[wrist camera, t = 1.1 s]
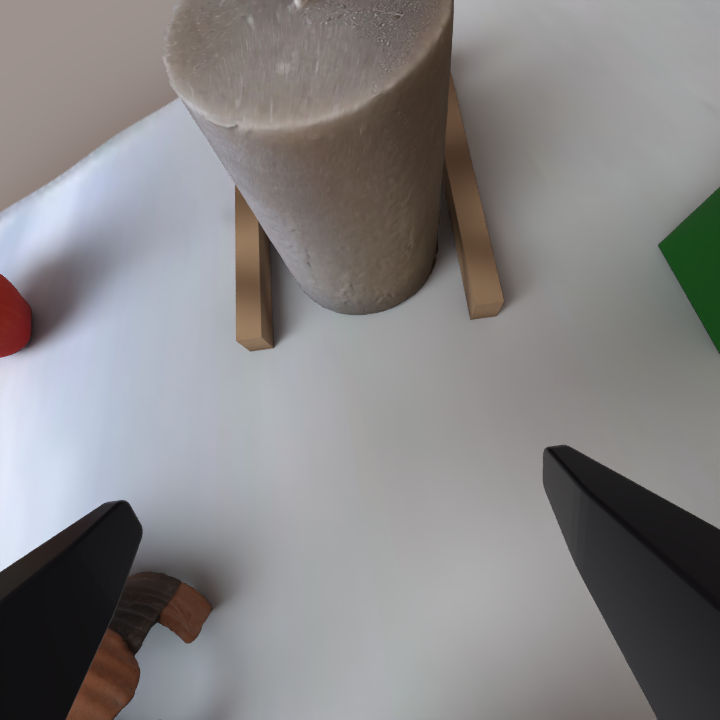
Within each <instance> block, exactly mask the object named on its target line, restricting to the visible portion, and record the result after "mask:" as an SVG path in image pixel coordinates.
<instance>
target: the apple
mask: <svg viewBox="0 0 720 720" xmlns="http://www.w3.org/2000/svg"><path fill="white" fill-rule="evenodd" d="M31 316H32V312H31V308H30V306H29V304H28V303H27V302H26V301H25V299H24V298H23V297H22V296H21V294H20V293H19V292H18V291H17V289H16V288H15V287H14V286H13V285H12V284H11V283H10V282H9V281H8V280H7V279H6V278H5V277H4V276H3V275H1V274H0V358H1V357H5V356H9V355H12V354H14V353H16V352H18V351H20V350H21V349H22V348H23V347H25V346H26V344H27V343H28V342H29V340H30V338H31Z"/></svg>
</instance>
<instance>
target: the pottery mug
mask: <svg viewBox="0 0 720 720" xmlns="http://www.w3.org/2000/svg"><path fill="white" fill-rule="evenodd" d="M211 610H212V608H211V605H210V604H209V603H208V602H207V600H206V599H205V598H204V596H202V595H201V594H200V593H198V592H197V591H196V590H195V589H194V588H192V587H190V586H188V585H187V584H185V583H182V582H181V581H180V580H178V579H176V578H173V577H170V576H168V575H166V574H164V573H154V572H141V573H138V574H135V575H132V576H130V577H128V578H127V581H126V584H125V586H124V589H123V592H122V595H121V597H120V600H119V603H118V605H117V608H116V610H115V613H114V615H113V617H112V620H111V622H110V624H109V626H108V629H107V631H106V633H105V635H104V637H103V640H102V642H101V644H100V646H99V648H98V651H97V653H96V655H95V657H94V659H93V661H92V664H91V666H90V668H89V670H88V672H87V675H86V677H85V679H84V681H83V683H82V686H81V688H80V690H79V692H78V694H77V697H76V699H75V701H74V703H73V705H72V708H71V710H70V712H69V714H68V716H67V719H66V720H113V719H114V718H115V717H116V715H117V714H118V713H119V712H120V711H121V710H122V709H123V708H124V707H125V706H126V705H127V704H128V703H129V702H130V701H131V699H132V698H133V697H134V694H135V690H136V688H137V685H138V682H139V678H140V668H139V666H138V662H137V660H136V659H135V654H136V653H137V652H138V650H139V649H140V648H141V646H142V643H143V641H144V639H145V637H146V636H147V634H148V632H149V631H150V629H151V627H153V626H154V624H156V623H157V622H158V623H160V624H162V625H163V626H166V627H168V628H169V629H170V630H171V631H173V632H174V633H175V634H176V635H178V636H179V637H180V638H181V639H182V640H183V641H184V642H185V643H191V642H193V641H194V640H195V639H196V638H197V636H198V635H199V633H200V631H201V629H202V625H203V623H204V622H205V621H206V619H207V617H208V616H209V614H210V612H211Z"/></svg>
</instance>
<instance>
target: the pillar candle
mask: <svg viewBox="0 0 720 720" xmlns="http://www.w3.org/2000/svg"><path fill="white" fill-rule="evenodd" d="M173 10H174V13H173V15H172V19H171V21H170V24H169V25H168V27H167V30H166V31H165V32H164V35H163V37H162V38H163V39H164V40H165V46H164V49H163V51H162V59H163V61H164V63H165V66H166V71H167V73H168V76H169V78H170V81H169V84H170V85H171V87H172V88H173V89H174V90H175V92H176V93H177V94H178V96H179V98H180V99H181V100H182V102H183V103H184V105H185V106H186V108H187V109H188V111H189V112H190V114H191V116H192V117H193V119H194V120H195V122H196V123H197V125H198V126H199V128H200V129H201V131H202V132H203V134H204V135H205V137H206V138H207V140H208V141H209V143H210V145H211V146H212V148H213V150H214V151H215V153H216V154H217V156H218V157H219V159H220V161H221V162H222V164H223V165H224V167H225V169H226V170H227V172H228V173H229V175H230V176H231V178H232V180H233V181H234V183H235V185H236V186H237V188H238V189H239V191H240V192H241V194H242V196H243V197H244V199H245V200H246V202H247V204H248V205H249V207H250V208H251V210H252V211H253V213H254V214H255V216H256V218H257V220H258V221H259V223H260V224H261V226H262V227H263V229H264V231H265V233H266V234H267V236H268V237H269V239H270V241H271V242H272V244H273V245H274V246H275V248H276V249H277V251H278V253H279V254H280V256H281V257H282V259H283V261H284V262H285V264H286V265H287V267H288V269H289V270H290V272H291V273H292V275H293V276H294V278H295V279H296V281H297V283H298V284H299V286H300V287H301V288H302V290H303V291H304V292H305V293H306V294H307V295H308V296H309V297H310V298H311V299H313V300H314V301H315V302H317V303H318V304H319V305H321V306H322V307H324V308H327V309H330V310H333V311H334V312H337V313H341V314H348V315H366V314H372V313H378V312H381V311H385V310H387V309H389V308H392V307H394V306H396V305H398V304H400V303H401V302H403V301H404V300H406V299H408V298H409V297H410V296H412V295H413V294H415V293H416V292H417V291H418V290H419V289H420V287H421V286H422V285H423V284H424V283H425V282H426V281H427V279H428V277H429V275H430V274H431V272H432V269H433V267H434V264H435V261H436V255H437V252H438V225H439V221H440V214H441V213H440V199H441V186H442V171H443V164H444V155H445V137H446V126H447V114H448V94H449V80H450V66H451V50H452V34H453V14H454V0H178V2H177V3H176V4H175V5H174V7H173Z"/></svg>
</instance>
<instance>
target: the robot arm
mask: <svg viewBox="0 0 720 720" xmlns="http://www.w3.org/2000/svg"><path fill="white" fill-rule="evenodd" d="M543 485H544V489H545V492H546V494H547V497H548V499H549V501H550V504H551V506H552V509H553V511H554V514H555V516H556V519H557V521H558V524H559V526H560V529H561V531H562V534H563V536H564V538H565V541H566V543H567V546H568V548H569V551H570V553H571V555H572V558H573V560H574V562H575V565H576V567H577V569H578V571H579V573H580V575H581V577H582V579H583V581H584V582H585V584H586V586H587V588H588V590H589V592H590V594H591V595H592V597H593V599H594V601H595V603H596V605H597V607H598V609H599V610H600V612H601V614H602V616H603V618H604V620H605V622H606V624H607V625H608V627H609V629H610V631H611V633H612V635H613V637H614V639H615V640H616V642H617V644H618V646H619V648H620V650H621V652H622V653H623V655H624V657H625V659H626V661H627V663H628V665H629V667H630V668H631V670H632V672H633V674H634V676H635V678H636V680H637V682H638V683H639V685H640V687H641V689H642V691H643V693H644V695H645V697H646V698H647V700H648V702H649V704H650V706H651V708H652V710H653V711H654V713H655V715H656V717H657V719H658V720H720V529H718V528H716V527H714V526H713V525H711V524H709V523H707V522H705V521H704V520H702V519H700V518H698V517H696V516H695V515H693V514H691V513H689V512H687V511H685V510H684V509H682V508H680V507H678V506H676V505H675V504H673V503H671V502H669V501H667V500H666V499H664V498H662V497H660V496H658V495H657V494H655V493H653V492H651V491H649V490H647V489H646V488H644V487H642V486H640V485H638V484H637V483H635V482H633V481H631V480H629V479H628V478H626V477H624V476H622V475H620V474H619V473H617V472H615V471H613V470H611V469H609V468H608V467H606V466H604V465H602V464H600V463H599V462H597V461H595V460H593V459H591V458H590V457H588V456H586V455H584V454H582V453H581V452H579V451H577V450H575V449H573V448H571V447H570V446H567V445H558V446H550V447H546V448H545V449H544V452H543ZM142 534H143V529H142V525H141V523H140V522H139V520H138V518H137V516H136V514H135V513H134V511H133V509H132V507H131V506H130V504H129V503H128V502H127V501H124V500H119V501H111V502H106V503H104V504H102V505H101V506H99V507H98V508H96V509H95V510H93V511H92V512H90V513H89V514H87V515H86V516H84V517H83V518H81V519H80V520H78V521H77V522H75V523H74V524H72V525H71V526H69V527H68V528H66V529H64V530H63V531H61V532H60V533H58V534H57V535H55V536H54V537H52V538H51V539H49V540H48V541H46V542H45V543H43V544H42V545H40V546H39V547H37V548H36V549H34V550H33V551H31V552H30V553H28V554H27V555H25V556H24V557H22V558H21V559H19V560H18V561H16V562H15V563H13V564H12V565H10V566H9V567H7V568H6V569H4V570H3V571H1V572H0V720H66V719H67V716H68V714H69V712H70V710H71V708H72V705H73V703H74V701H75V699H76V697H77V694H78V692H79V690H80V688H81V686H82V683H83V681H84V679H85V677H86V675H87V672H88V670H89V668H90V666H91V664H92V661H93V659H94V657H95V655H96V653H97V651H98V648H99V646H100V644H101V642H102V640H103V637H104V635H105V633H106V631H107V629H108V626H109V624H110V622H111V620H112V617H113V615H114V613H115V610H116V608H117V605H118V603H119V600H120V597H121V595H122V592H123V589H124V586H125V584H126V581H127V578H128V575H129V572H130V570H131V567H132V564H133V561H134V558H135V556H136V553H137V550H138V547H139V544H140V542H141V539H142Z"/></svg>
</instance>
